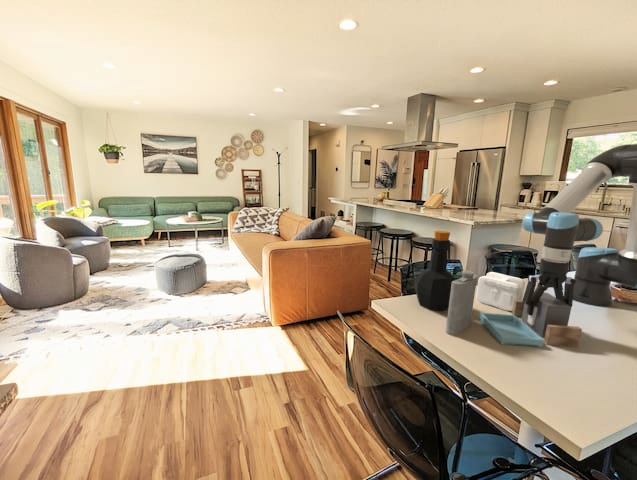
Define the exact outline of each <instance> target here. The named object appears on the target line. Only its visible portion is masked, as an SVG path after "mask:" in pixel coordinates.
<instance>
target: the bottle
mask: <svg viewBox="0 0 637 480" xmlns="http://www.w3.org/2000/svg"><path fill="white" fill-rule="evenodd" d="M450 235H451V231H449V230H448V231H445V230H440V229H439V230H438V229H437V230H434V238H433V239H432V241H431V242H432V243H431V247H432V248H433V249H432V253H431V256H430V265H429V269H426V270H424V271H421V272H420V273H419V274H418V275H417V276H416V277H415V279H414V283H413V284H414V285H413V286H414V291H415V293H416V298H417V302H418V304H419V306H420V307H423V308H425V309H427V310H431V311H437V312H438V311H439V312H444V311H446V310H447V311H448V309H449V301H450V293H451V285H452V281H455V280H456V279H455V277H454V276H453V274H452V272H450V271H448V270H447V266H448V249H450V247H451V240H450Z"/></svg>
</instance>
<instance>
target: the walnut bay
mask: <svg viewBox="0 0 637 480" xmlns="http://www.w3.org/2000/svg"><path fill="white" fill-rule="evenodd" d="M522 300H523V299H522ZM522 300H514V305H513V311H511V315H515V316H516V317H517V318H522V314H523V308H524V302H523V301H522ZM582 330H583V329H582V328H581V327H580V326H573V325H572V326H569V325H568V326H560V325H547V329H546V334H545V337H544V339H543V340H544V341H543V344H546V345H550V346H557V347H558V346H561V347H570V348H571V347H573V348H579V344H580V340H581V335H582V332H583V331H582Z"/></svg>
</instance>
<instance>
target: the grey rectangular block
mask: <svg viewBox="0 0 637 480" xmlns="http://www.w3.org/2000/svg"><path fill="white" fill-rule="evenodd" d="M536 307H537V313H536V318H535V324H534V326H532V325H531V324H529V323H528V322H527V321H528V314H527V308H528V305H527V304H525V303H524V308H523V314H522V317H521V321H522V322H523V323H524V324H525V325H527V326H528V327H529V328H530V329H531V330H532V331H534V332H535V333H536V334H537V335H538V336H540V337H541V338H545V334H546V329H547V325H560V326H569V320H570V316H571V311H572V307H571V306H569V305H567V304H566V303H564V302H562V301H560V300H558V299H557V298H556V297H555V295H554V296H553V295H552V294H550V293H548V292H544V293H543V295H542V296H541V298H540V299H539V301H538V303H537V304H536Z"/></svg>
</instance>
